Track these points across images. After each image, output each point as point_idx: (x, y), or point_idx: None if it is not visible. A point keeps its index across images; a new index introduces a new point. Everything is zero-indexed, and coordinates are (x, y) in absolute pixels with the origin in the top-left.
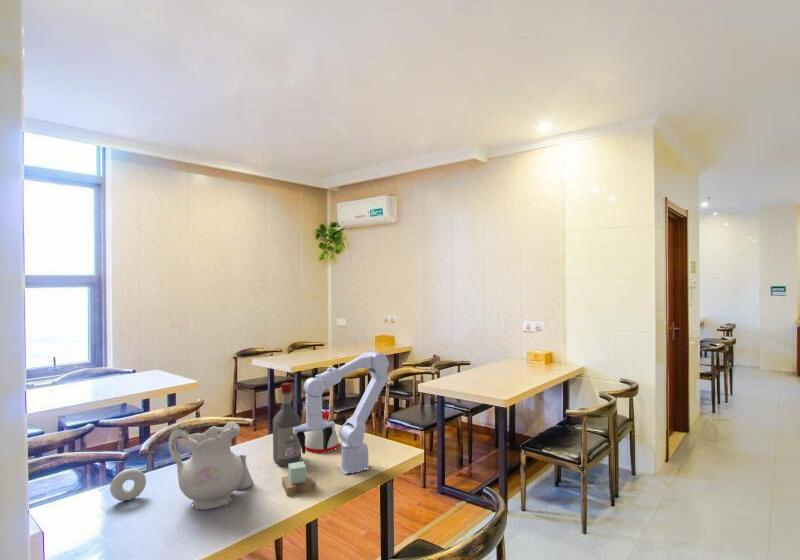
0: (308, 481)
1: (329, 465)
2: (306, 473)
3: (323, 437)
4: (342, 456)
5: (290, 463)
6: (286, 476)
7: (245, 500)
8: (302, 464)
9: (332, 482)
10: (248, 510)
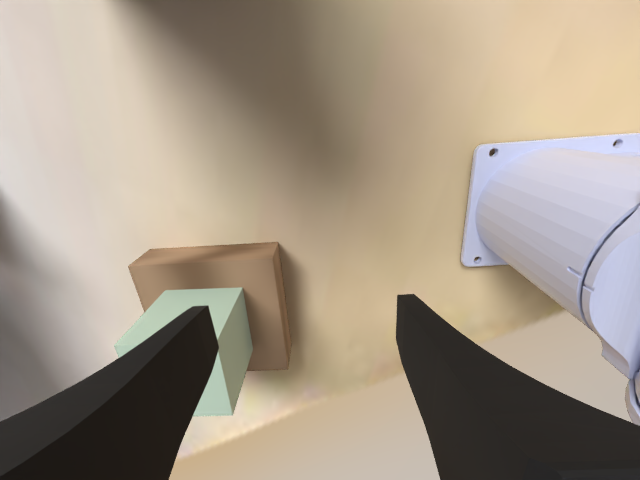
0: (263, 349)
1: (435, 92)
2: (261, 267)
3: (442, 364)
4: (522, 247)
5: (128, 347)
6: (151, 264)
7: (18, 329)
8: (210, 385)
9: (379, 308)
10: (56, 393)
